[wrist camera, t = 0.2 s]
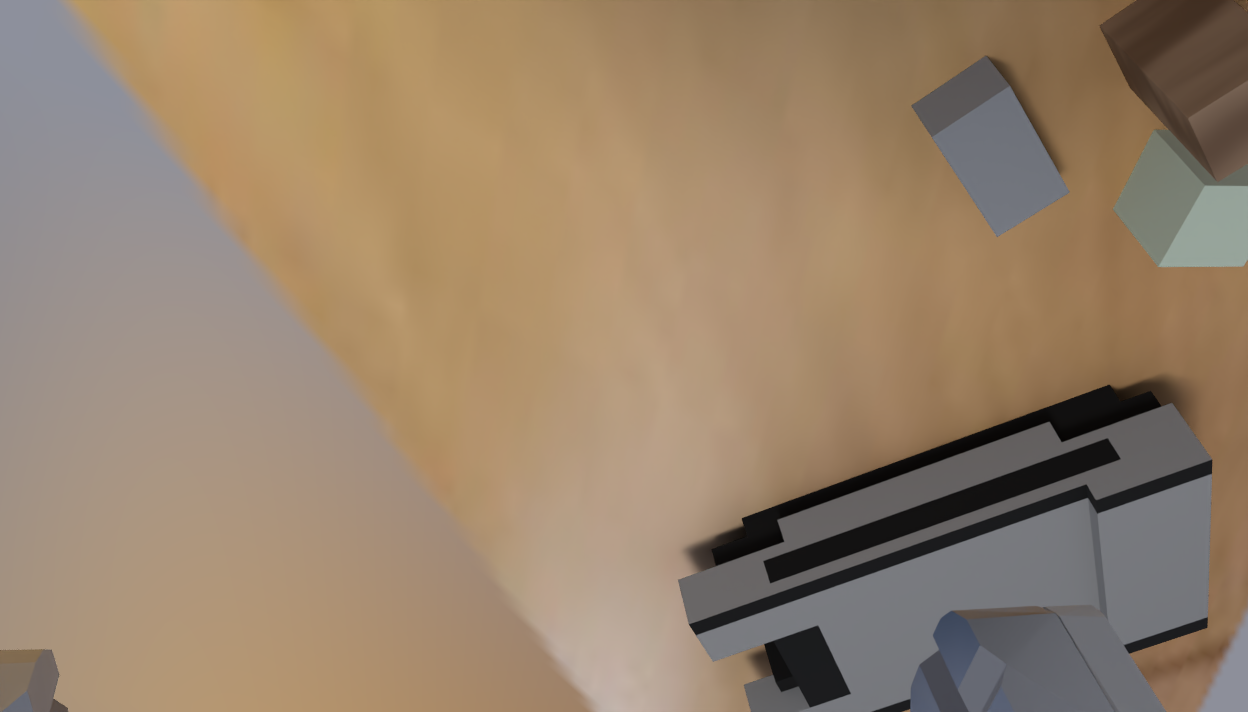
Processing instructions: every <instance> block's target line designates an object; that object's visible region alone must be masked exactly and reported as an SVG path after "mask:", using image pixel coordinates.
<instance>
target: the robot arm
mask: <svg viewBox="0 0 1248 712" xmlns="http://www.w3.org/2000/svg"><path fill="white" fill-rule="evenodd" d="M933 637H934V640H935V642H936V644H937V646H938V648H939V650H938V651H937V652H936V653H934V654H933V655H932V656H930V657H929V658H928V659H926V660H925V661H924V662H922V663H921V664H920V665H919V667H918V669H917V672H916V675H915V677H914V680H913V682H912V685H911V702H910V712H1166V711H1165V709H1164V708H1163V706H1162V704H1161V703H1160V701H1159V700H1158V698H1157V697H1156V695H1155V694H1154V692H1153V690H1152V689H1151V687H1150V686H1149V684H1148V683H1147V681H1146V679H1145V678H1144V676H1143V675H1142V673H1141V672H1140V670H1139V669H1138V667H1137V665H1136V664H1135V662H1134V661H1133V659H1132V658H1131V656H1130V654H1129V653H1128V651H1127V650H1126V648H1125V647H1124V645H1123V643H1122V642H1121V640H1120V639H1119V637H1118V636H1117V634H1116V633H1115V631H1114V629H1113V628H1112V626H1111V625H1110V623H1109V622H1108V620H1107V618H1106V617H1105V616H1104V615H1103V613H1102V612H1100V611H1099V610H1098V609H1096V608H1095V607H1094V606H1092V605H1071V606H1048V607H1039V606H1025V607H1007V608H989V609H971V610H953V611H950V612H949V613H947V614H946V615H944V616H943V617H942V618H940V621H939V623H938V625H937V627H936V629H935V631H934V633H933ZM58 678H59V672H58V669H57V665H56V662H55V658H54V655H53V652H52V650H45V649H43V650H42V649H41V650H0V712H68V708H67V707H65V706H64V705H62V704H61V703H59V702H58V701H56V700H55V699H53V697H54V693H55V689H56V685H57V681H58Z"/></svg>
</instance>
